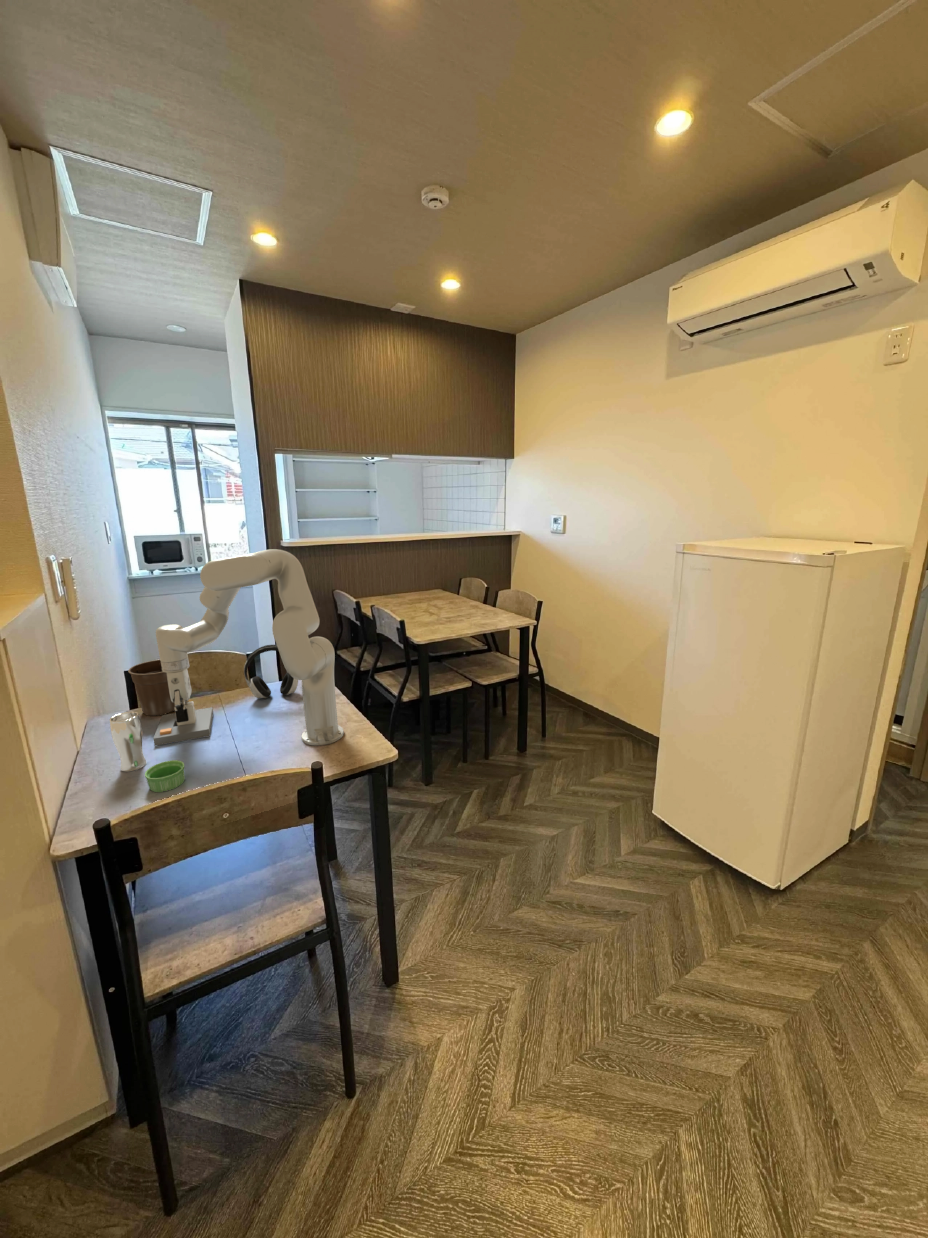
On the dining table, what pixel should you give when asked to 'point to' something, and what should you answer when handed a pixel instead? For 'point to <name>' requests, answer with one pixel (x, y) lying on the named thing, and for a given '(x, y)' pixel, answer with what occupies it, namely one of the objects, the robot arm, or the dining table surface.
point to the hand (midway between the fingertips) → (184, 717)
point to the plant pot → (152, 688)
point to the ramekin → (165, 775)
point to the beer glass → (128, 740)
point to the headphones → (259, 685)
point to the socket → (183, 727)
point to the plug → (189, 713)
